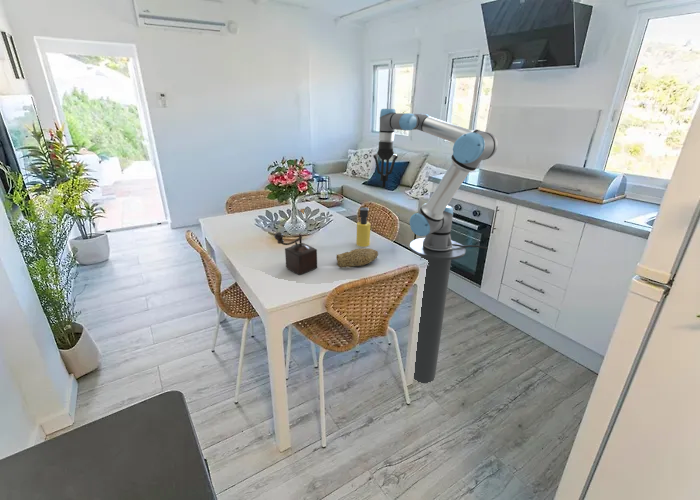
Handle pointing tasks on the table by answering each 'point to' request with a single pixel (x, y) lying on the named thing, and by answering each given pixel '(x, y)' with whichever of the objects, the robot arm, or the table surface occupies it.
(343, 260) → the sponge
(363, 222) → the spray bottle
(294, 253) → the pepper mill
